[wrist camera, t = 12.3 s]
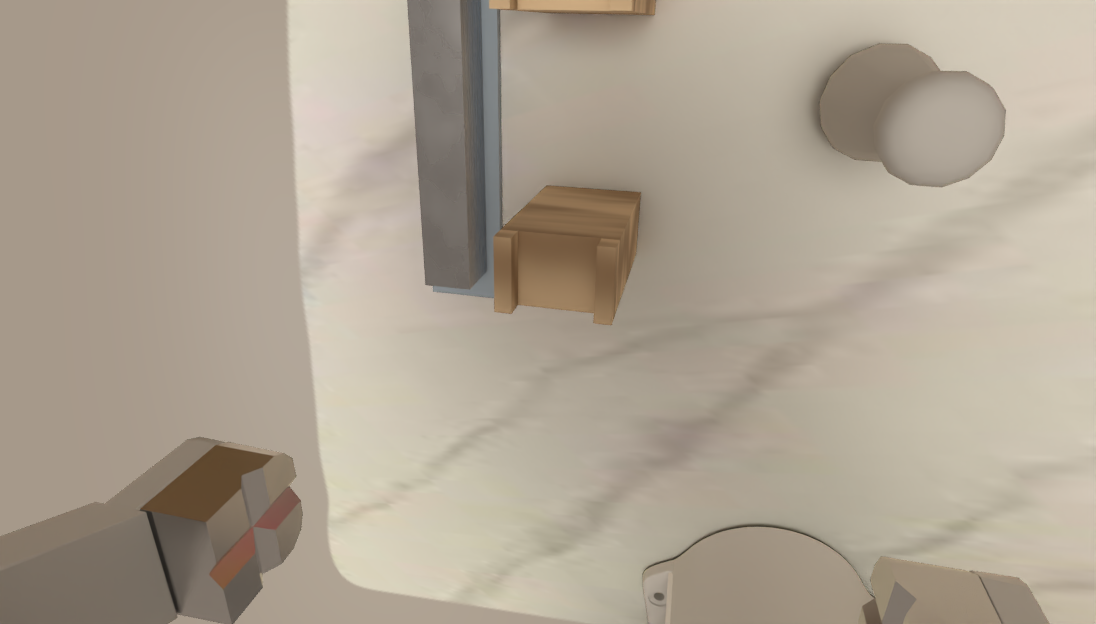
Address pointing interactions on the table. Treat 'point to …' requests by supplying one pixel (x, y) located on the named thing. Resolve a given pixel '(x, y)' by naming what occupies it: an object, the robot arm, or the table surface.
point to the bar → (450, 138)
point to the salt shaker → (911, 115)
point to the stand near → (578, 6)
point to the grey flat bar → (489, 147)
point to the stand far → (567, 251)
